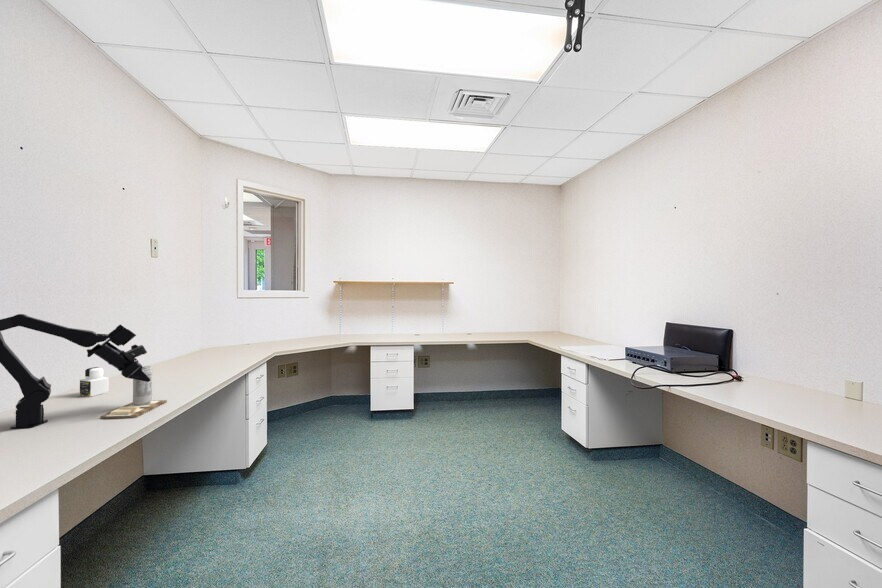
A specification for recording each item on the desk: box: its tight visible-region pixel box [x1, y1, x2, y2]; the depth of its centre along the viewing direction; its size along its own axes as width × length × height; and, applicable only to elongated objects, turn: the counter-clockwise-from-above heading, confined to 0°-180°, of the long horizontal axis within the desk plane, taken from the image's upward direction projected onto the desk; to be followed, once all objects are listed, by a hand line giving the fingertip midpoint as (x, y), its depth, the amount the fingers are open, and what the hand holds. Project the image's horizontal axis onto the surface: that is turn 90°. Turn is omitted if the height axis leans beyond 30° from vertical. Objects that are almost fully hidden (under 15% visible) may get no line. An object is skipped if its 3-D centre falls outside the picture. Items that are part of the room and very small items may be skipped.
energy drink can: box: [132, 365, 153, 406], centre depth 148 cm, size 6×6×15 cm
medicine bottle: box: [79, 366, 110, 398], centre depth 165 cm, size 7×7×12 cm
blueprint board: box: [99, 399, 168, 420], centre depth 143 cm, size 20×12×2 cm, turn 9°
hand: (148, 378), depth 149 cm, fingers open, 9 cm apart
